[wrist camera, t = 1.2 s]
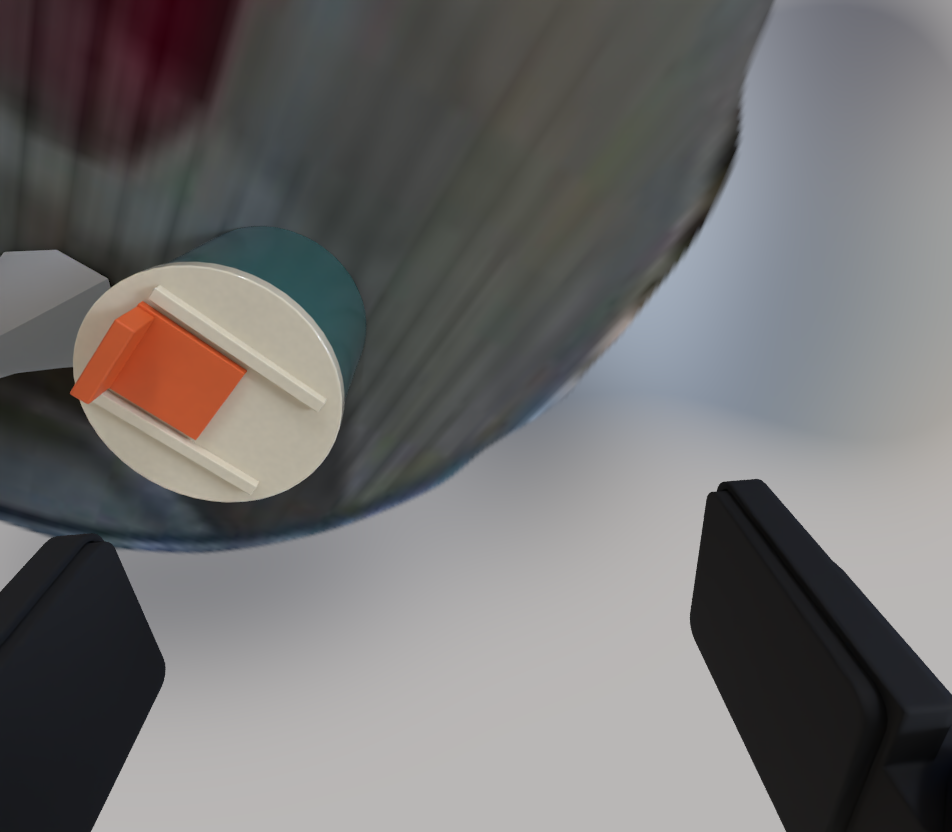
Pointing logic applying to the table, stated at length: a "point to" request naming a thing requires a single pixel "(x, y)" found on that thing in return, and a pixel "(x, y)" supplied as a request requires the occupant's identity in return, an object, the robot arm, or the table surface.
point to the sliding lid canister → (240, 363)
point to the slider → (160, 370)
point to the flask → (43, 308)
